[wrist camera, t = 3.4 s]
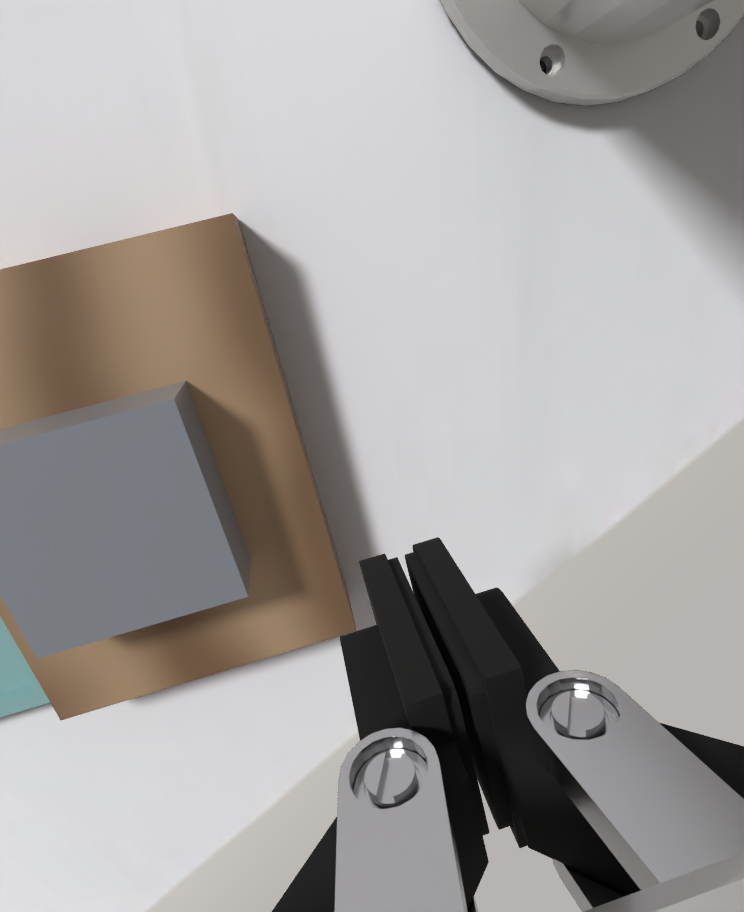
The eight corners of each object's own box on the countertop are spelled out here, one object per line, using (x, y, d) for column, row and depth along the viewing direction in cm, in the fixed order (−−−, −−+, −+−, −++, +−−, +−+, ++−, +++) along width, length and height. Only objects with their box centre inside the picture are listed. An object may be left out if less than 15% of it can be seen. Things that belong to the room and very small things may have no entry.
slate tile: (186, 380, 19) (173, 398, 16) (250, 558, 21) (248, 596, 19) (-30, 437, 18) (-75, 464, 16) (63, 613, 21) (37, 658, 18)
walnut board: (237, 217, 20) (232, 213, 17) (348, 596, 25) (356, 630, 23) (-121, 304, 19) (-177, 312, 16) (80, 675, 24) (60, 720, 22)
